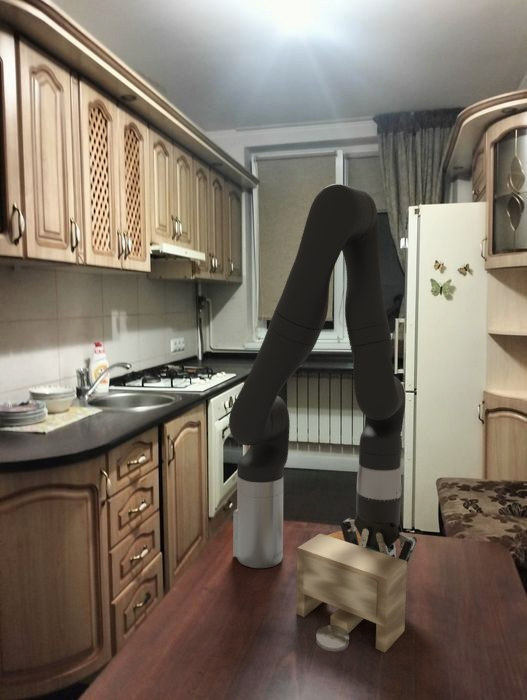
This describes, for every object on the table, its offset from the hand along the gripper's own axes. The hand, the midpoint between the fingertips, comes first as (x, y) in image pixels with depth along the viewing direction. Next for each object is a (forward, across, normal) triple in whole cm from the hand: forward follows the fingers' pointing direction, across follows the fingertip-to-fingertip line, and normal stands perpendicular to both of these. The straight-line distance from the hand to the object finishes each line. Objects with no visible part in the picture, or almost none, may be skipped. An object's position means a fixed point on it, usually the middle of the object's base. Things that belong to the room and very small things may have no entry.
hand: (376, 584), depth 96 cm
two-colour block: (+2, 0, -5) cm, 6 cm away
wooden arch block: (+2, 0, -10) cm, 10 cm away
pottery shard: (+3, -13, +15) cm, 20 cm away
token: (+3, 0, -15) cm, 16 cm away
